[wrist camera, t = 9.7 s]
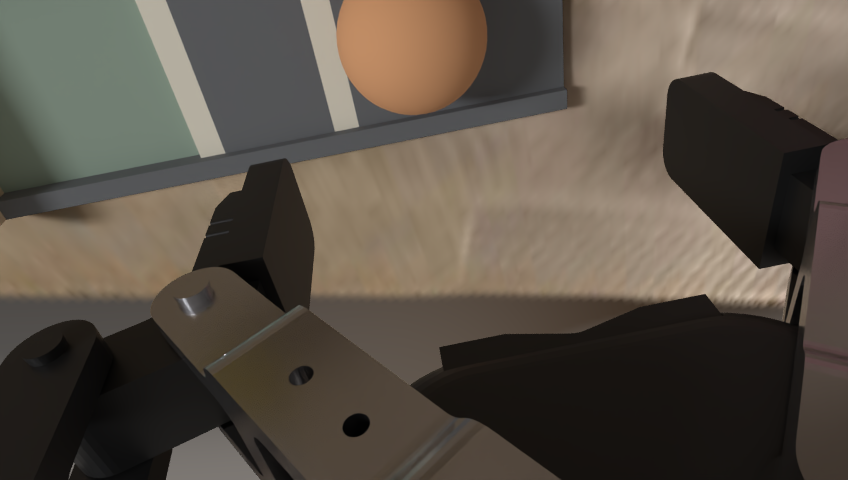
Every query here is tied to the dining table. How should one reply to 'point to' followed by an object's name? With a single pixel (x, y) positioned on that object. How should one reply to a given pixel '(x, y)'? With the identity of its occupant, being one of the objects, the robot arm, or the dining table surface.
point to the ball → (412, 51)
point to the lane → (219, 91)
